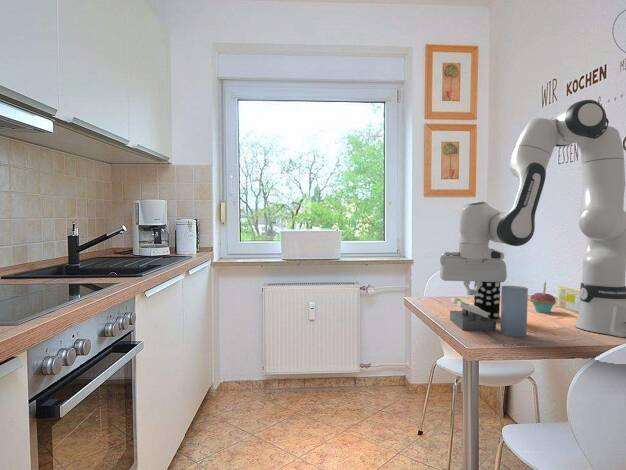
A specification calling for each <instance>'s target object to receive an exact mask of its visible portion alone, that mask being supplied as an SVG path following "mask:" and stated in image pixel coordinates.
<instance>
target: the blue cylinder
mask: <svg viewBox="0 0 626 470" xmlns="http://www.w3.org/2000/svg"><path fill="white" fill-rule="evenodd" d="M528 294H529V288H528V287H525V286H519V285H501V294H500V334H501V335H503V336H506V335H507V336H506V337H510V336H512V337H511V338H525V337H527V331H528V330H527V328H528V325H527V324H528V301H529V300H528V297H529V295H528Z"/></svg>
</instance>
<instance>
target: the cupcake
mask: <svg viewBox="0 0 626 470" xmlns="http://www.w3.org/2000/svg"><path fill="white" fill-rule="evenodd" d="M546 287H547V282H546V280H545V281H544V283H543V291H542V292H536V293H534V294H532V295H530V297H529V298H530V299H529V300H530V302H531V303H532V304H533V306H534V310H535V312H537V313H541V314H549V313H551V311H552V308H553V306H554V305H555V304H557V303H556V302H557V301H556V298H555V297H554V296H553V295H552V294H550V293H547V292H546Z"/></svg>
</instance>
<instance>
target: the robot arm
mask: <svg viewBox="0 0 626 470" xmlns="http://www.w3.org/2000/svg"><path fill="white" fill-rule="evenodd" d="M572 144H576V145H577V146H578V148H579V150H580V155H581V157H580V158H581V159H580V160H581V161H580V162H581V163H580V165H581V182H582V183H581V184H582V185H581V187H582V189H581V199H580V211H579V220H578V226H579V229H580V231H581V233H582V234H584V236H585V237H587V241H586V246H585V247H586V248H585V252H584V256H583V258H582V277H581V279H582V282H580V288H579V291H580V299H581V304H580V309H579V313H577V314H578V315H577V318H576V319H575V320H576V321H575V323H574V326H575V327H577V328H579V329H580V330H584V331H588V332H592V333H598V334H604V335H609V336H614V337H620V338H626V211H625V210H624V203H625V202H624V201H625V189H626V171H625V169H626V168H625V167H626V166H625V154H624V152H625V151H624V148H623V147H624V146H623V142H622V138H621V134H620V132H619V130H618V129H617V128H616V127H613V126H610V125H609V119H608V117H607V113H606V110H605V108H604V107H603V105H602V104H601V103H599V102H598V101H596V100H594V99H585V100H584V99H583V100H580V101H577V102H575V103H572V104H571V105H569V106H567V107H566V108H564V109H562V110H560V111H559V112H558V113H557V114H556V115H555V116H554V117H552V118H551V119H549V118H544V117H538V118H534V119H532V120H530V121H528V123H526V126H525V127H524V128H523V130H522V132H521V133H520V135H519V137H518V138H517V141H516V143H515V145H514V148H513V150H512V153H511V156H510V160H509V164H508V167H509V169H510V172H511V173H512V175H513V176H514V177H516V178H517V179H518V181H519V186H518V190H517V193H516V196H515V199H514V203H513V206H512V207H511V209H510V210H509V211H508V212H503V211H500V210H497V209H495V208H494V207H492V206H490V205H489V203H488V202H485V201H479V202H471V203H467V204H465V205H463V207H462V208H461V212H460V217H459V233H460V238H459V241H458V251H456V252H455V251H454V252H453V251H451V252H450V251H446V252H444V253H442V254H441V255H440V259H439V260H440V266H441V267H440V271H439V277H440V279H441V280H442V281H444V282H445V281H446V282H463V285H464V288H465V290H466V295H467V296H474V295H475V296H477V295H478V290H479V288H480V287H481V285H482V282H500V283H504V282H505V281H506V280H507V278H508V277H507V265H506V262H505V261H504V259H505V253H504V252H502V251H498V250H497V249H494V248H490V247H489V242H490V241H491V242H494V243H499V244H506V245H509V246H513V247H520V246H523V245H525V244H527V243H528V242H530V241H531V239H532V238H533V236H534V234H535V227H536V226H535V225H536V221H535V220H536V219H535V217H536V211H537V209H538V206H539V202H540V198H541V195H542V192H543V188H544V185H545V182H546V175H547V168H548V165H549V162H550V159H551V157H552V154H553V152H554V148H556V147H557V148H558V147H560V148H561V147H568V146H571V145H572ZM471 282H474V287H475V288H473V289H471V287H470V284H471ZM475 284H476V286H475Z"/></svg>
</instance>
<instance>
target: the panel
mask: <svg viewBox="0 0 626 470" xmlns="http://www.w3.org/2000/svg"><path fill="white" fill-rule="evenodd" d="M449 320H450V321H451V322H453V324H455V325H456V326H457V327H458V328H460V330H462V331H482V332H483V331H485V332H486V331H487V332H496V331H497V321H496V320H493V319H491V318H490V317H487V318H486V317H484V316H481V315H479V314H476V313H473V312H471V311H468V310H466V309H463V308H461V310H449Z"/></svg>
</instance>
